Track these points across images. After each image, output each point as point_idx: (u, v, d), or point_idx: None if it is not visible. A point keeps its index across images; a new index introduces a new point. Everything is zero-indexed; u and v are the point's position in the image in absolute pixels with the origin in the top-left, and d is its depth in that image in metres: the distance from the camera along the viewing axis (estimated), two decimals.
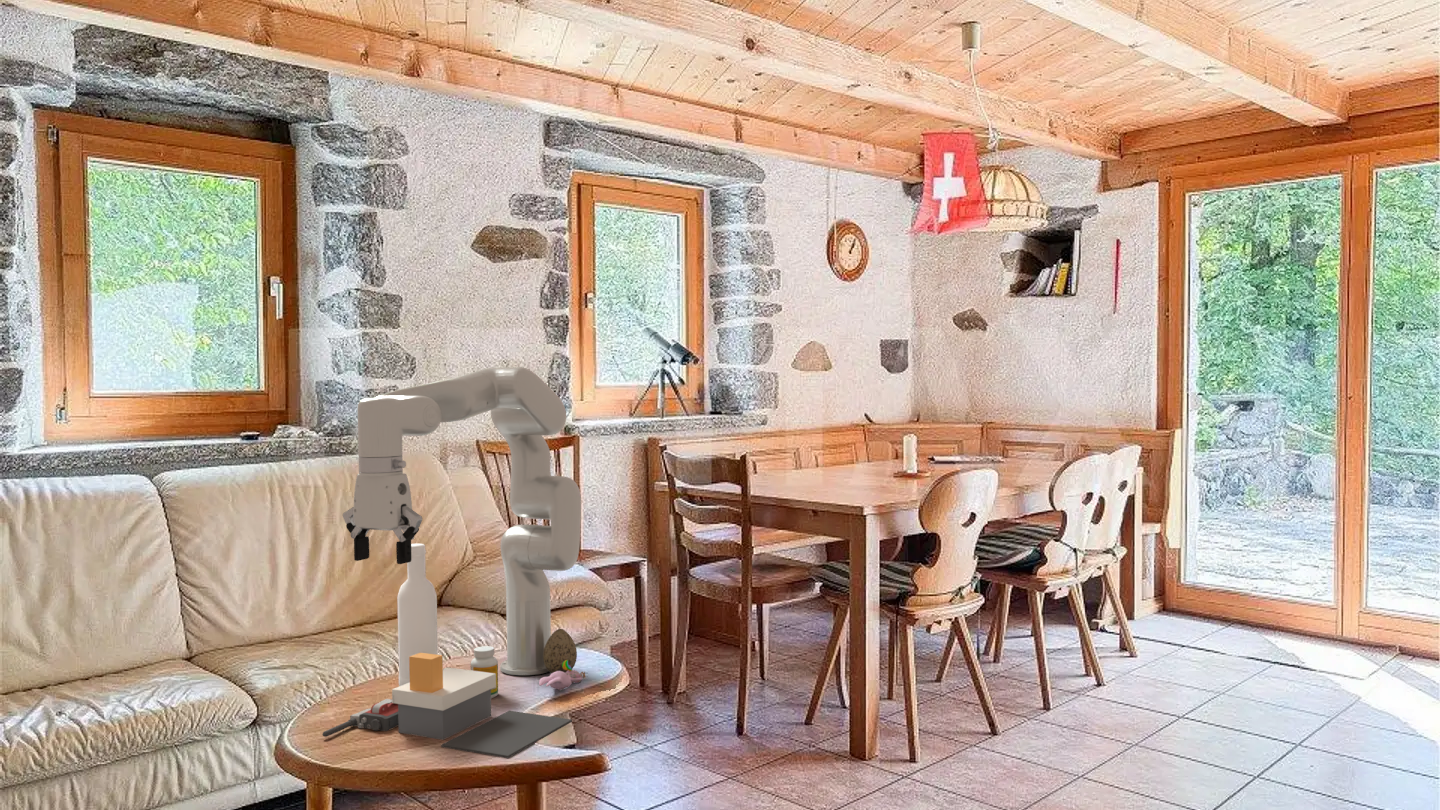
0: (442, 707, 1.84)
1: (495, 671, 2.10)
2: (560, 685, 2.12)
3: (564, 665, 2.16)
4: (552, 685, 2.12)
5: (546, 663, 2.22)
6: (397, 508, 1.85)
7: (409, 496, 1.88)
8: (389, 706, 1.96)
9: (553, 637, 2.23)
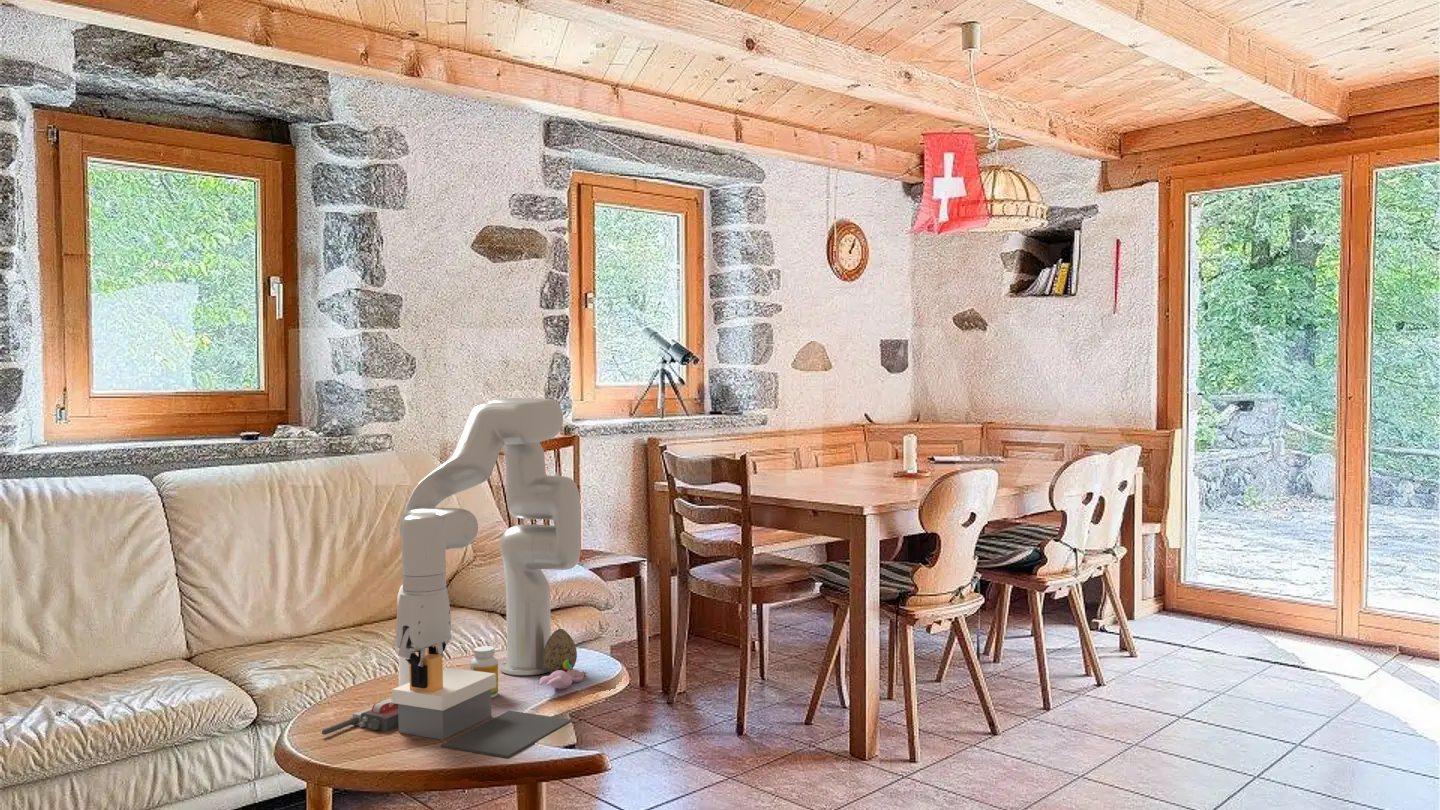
0: (442, 707, 1.84)
1: (495, 671, 2.10)
2: (560, 684, 2.12)
3: (565, 664, 2.16)
4: (553, 684, 2.13)
5: (546, 663, 2.22)
6: None
7: None
8: (391, 706, 1.96)
9: (553, 637, 2.23)
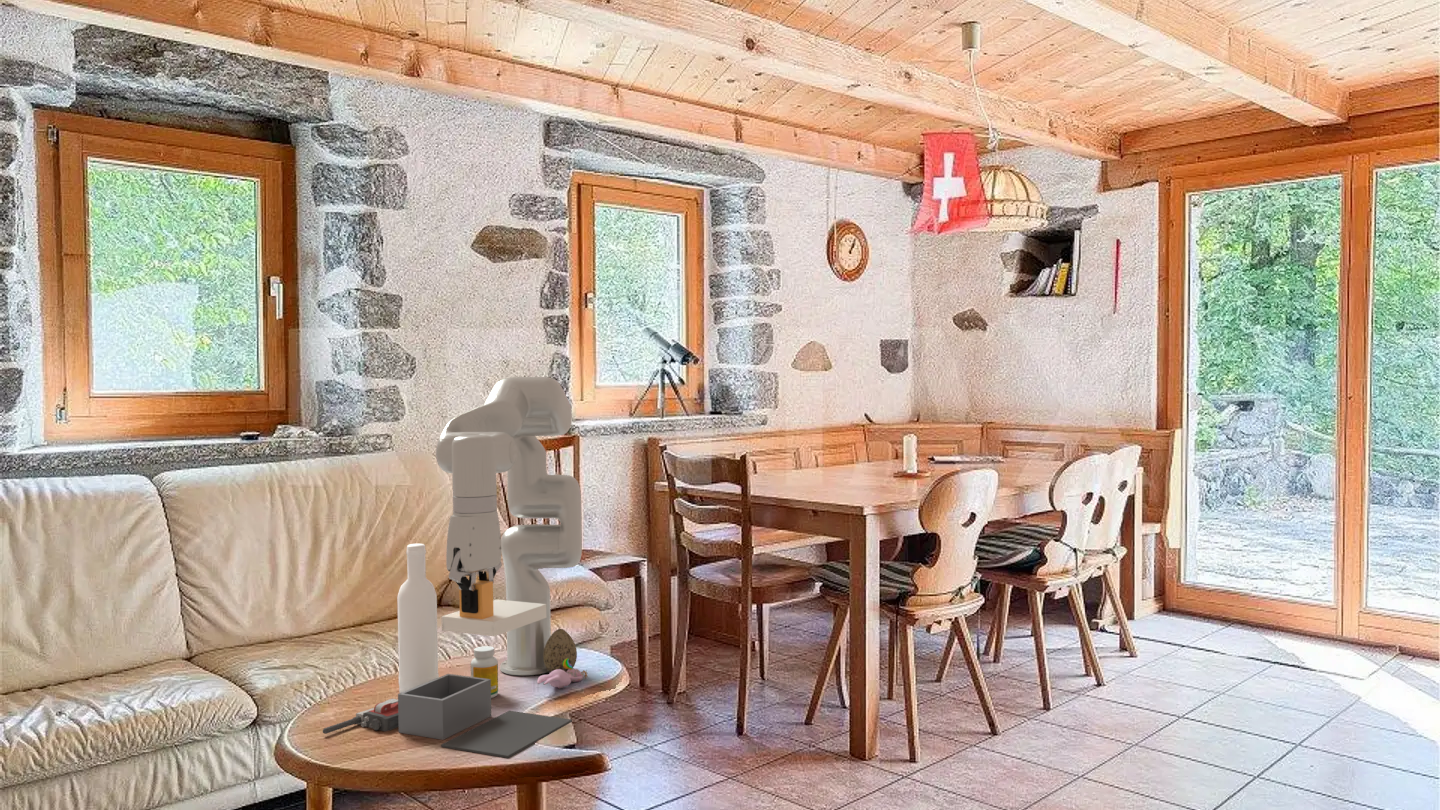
0: (493, 633, 1.79)
1: (495, 671, 2.10)
2: (559, 683, 2.13)
3: (564, 663, 2.17)
4: (551, 683, 2.14)
5: (546, 663, 2.22)
6: None
7: None
8: (394, 706, 1.96)
9: (554, 637, 2.23)
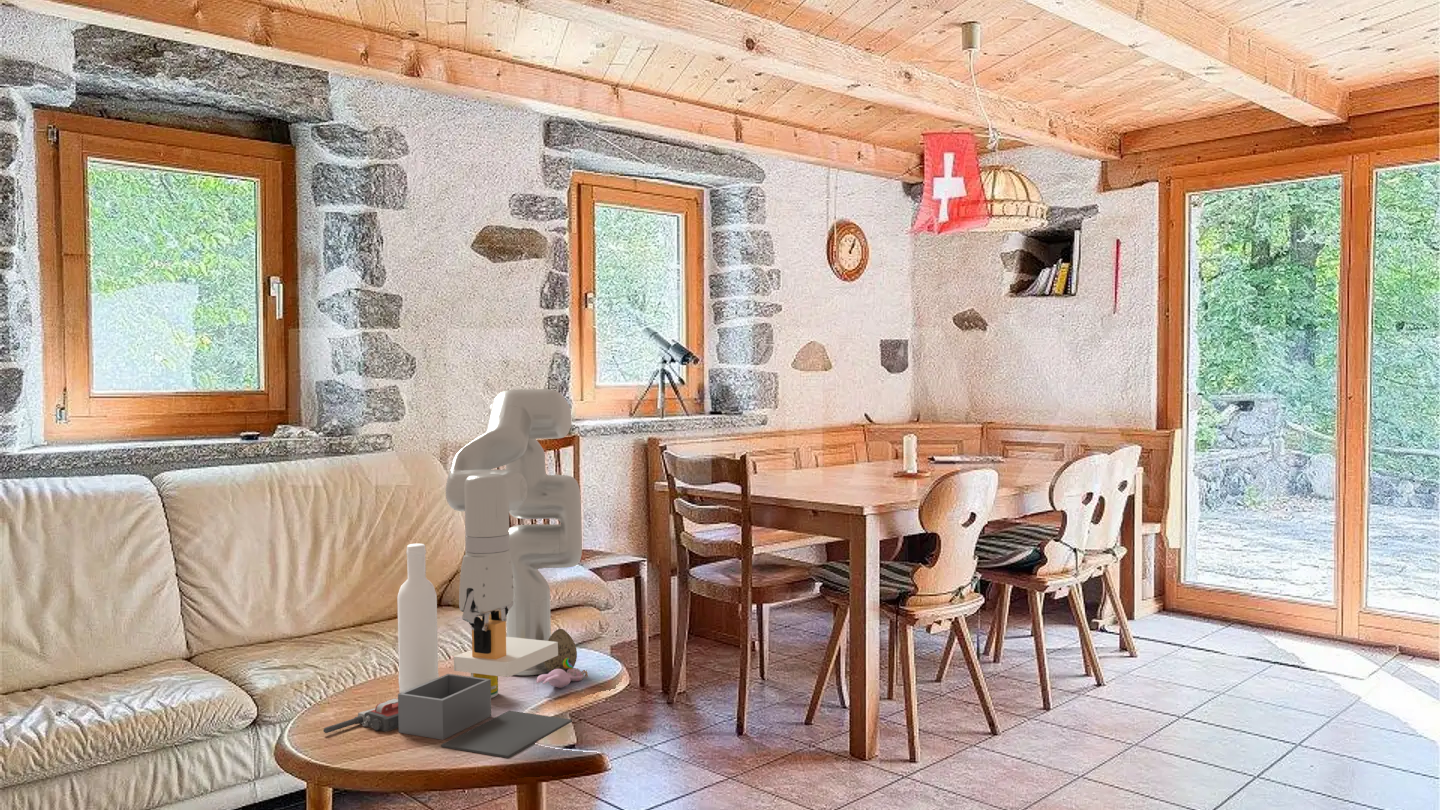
0: (507, 674, 1.78)
1: None
2: (558, 683, 2.14)
3: (564, 663, 2.17)
4: (551, 682, 2.14)
5: (546, 663, 2.22)
6: None
7: None
8: (396, 706, 1.96)
9: (554, 637, 2.23)
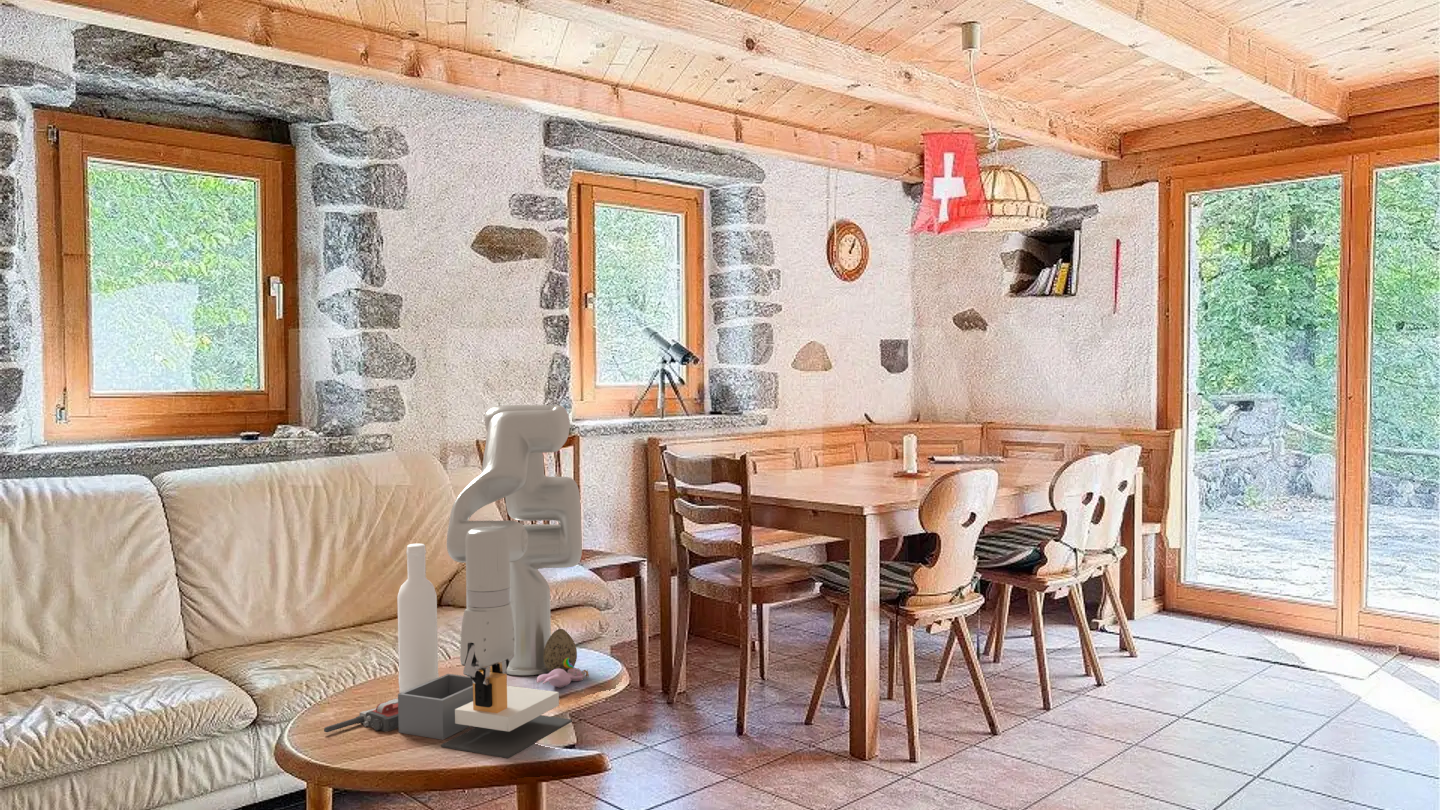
0: (508, 728, 1.78)
1: None
2: (559, 682, 2.14)
3: (565, 663, 2.18)
4: (551, 682, 2.14)
5: (546, 663, 2.22)
6: None
7: None
8: (397, 706, 1.96)
9: (554, 637, 2.23)
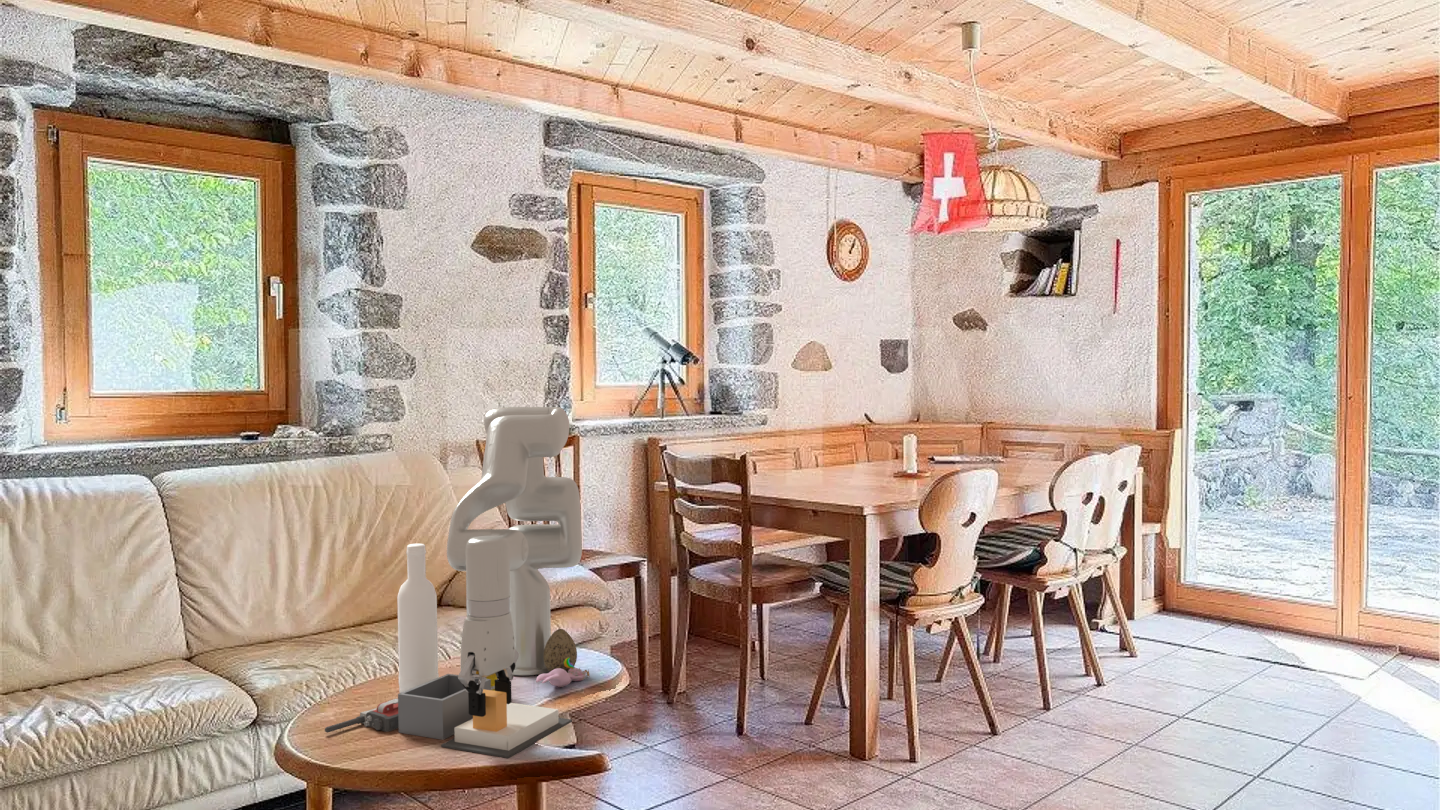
0: (508, 747, 1.78)
1: None
2: (558, 682, 2.14)
3: (565, 663, 2.18)
4: (551, 682, 2.14)
5: (547, 663, 2.22)
6: None
7: None
8: None
9: (554, 637, 2.23)
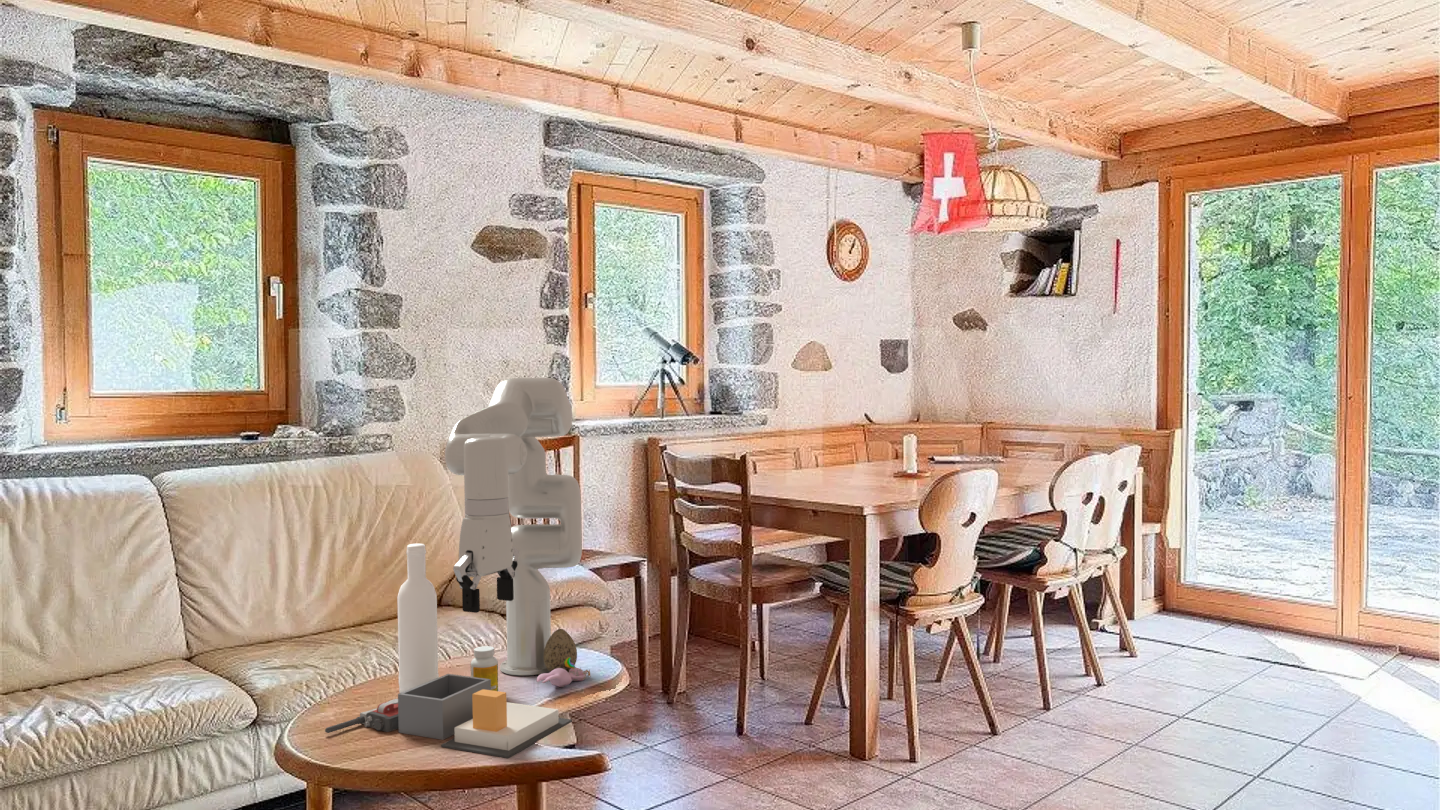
0: (508, 747, 1.78)
1: (495, 671, 2.10)
2: (559, 682, 2.14)
3: (566, 662, 2.18)
4: (552, 682, 2.15)
5: (547, 663, 2.22)
6: None
7: None
8: None
9: (554, 637, 2.23)
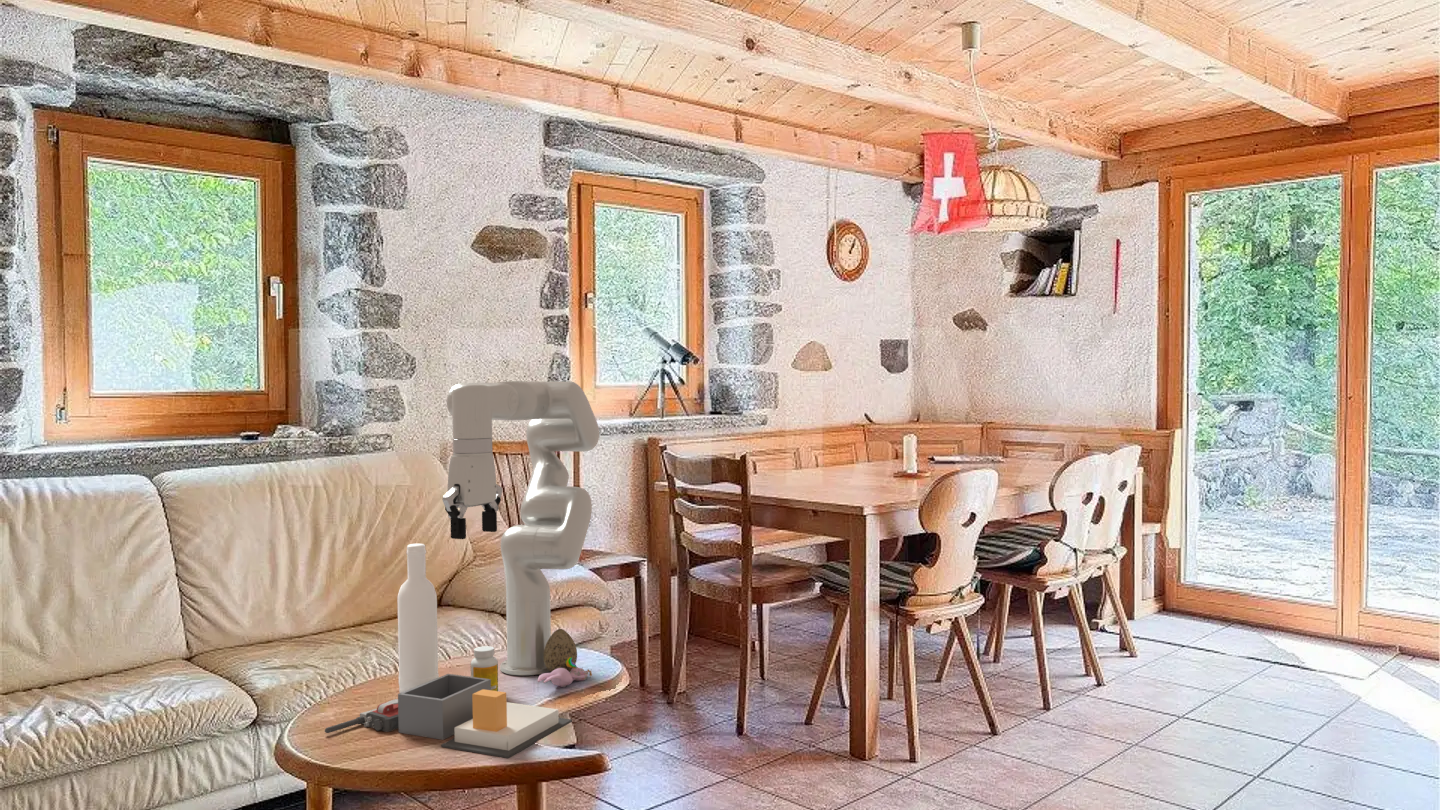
0: (508, 747, 1.78)
1: (495, 671, 2.10)
2: (560, 682, 2.14)
3: (567, 662, 2.18)
4: (553, 681, 2.15)
5: (547, 663, 2.22)
6: None
7: None
8: None
9: (554, 637, 2.23)
